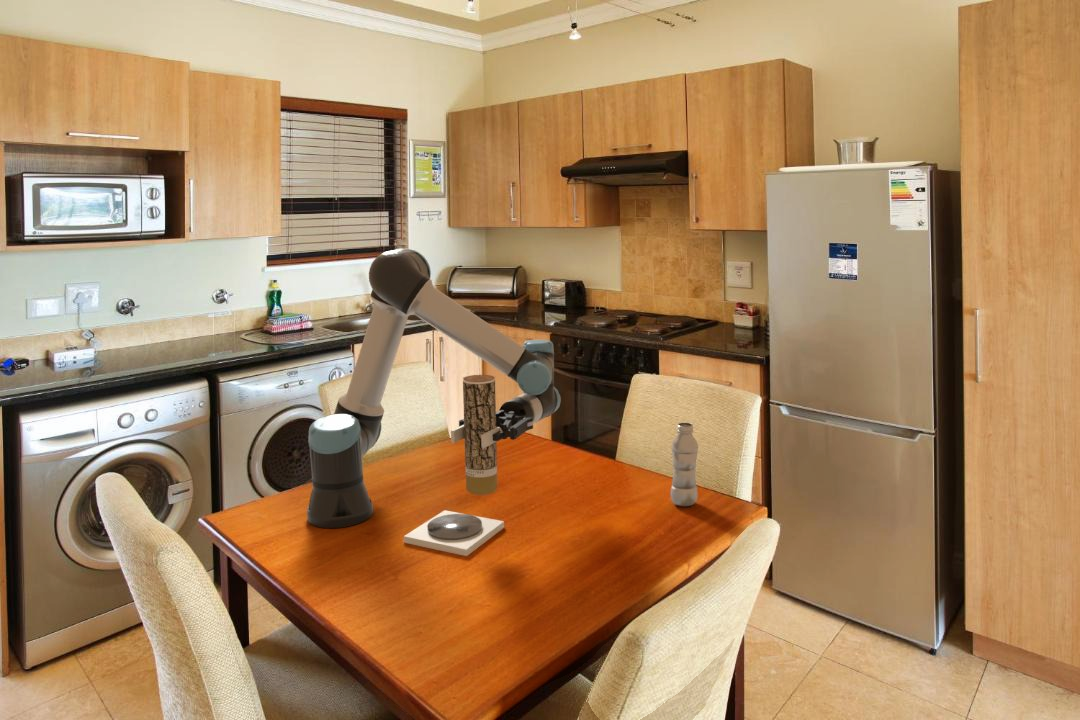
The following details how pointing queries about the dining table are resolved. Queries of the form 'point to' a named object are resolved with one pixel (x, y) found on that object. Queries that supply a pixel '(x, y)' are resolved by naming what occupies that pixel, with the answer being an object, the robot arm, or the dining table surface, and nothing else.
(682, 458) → the plastic bottle
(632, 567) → the dining table surface
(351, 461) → the robot arm
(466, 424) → the paper tube
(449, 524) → the domed button base
